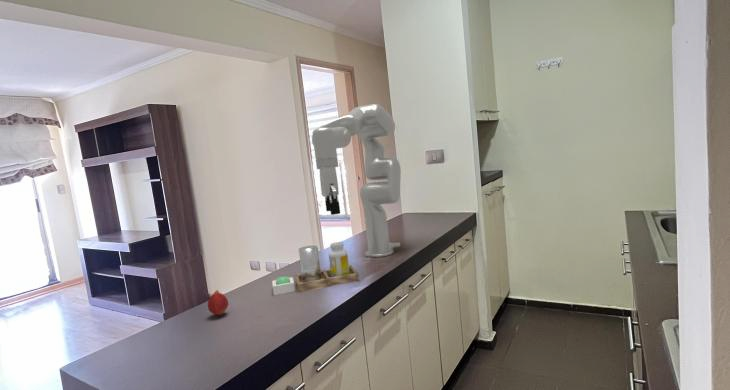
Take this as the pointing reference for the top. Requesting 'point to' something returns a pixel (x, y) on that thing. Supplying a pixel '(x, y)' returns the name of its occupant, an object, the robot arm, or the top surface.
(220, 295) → the onion
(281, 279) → the button
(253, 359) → the top surface
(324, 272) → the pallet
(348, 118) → the robot arm
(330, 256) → the supplement bottle
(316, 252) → the drinking glass
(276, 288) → the button console
